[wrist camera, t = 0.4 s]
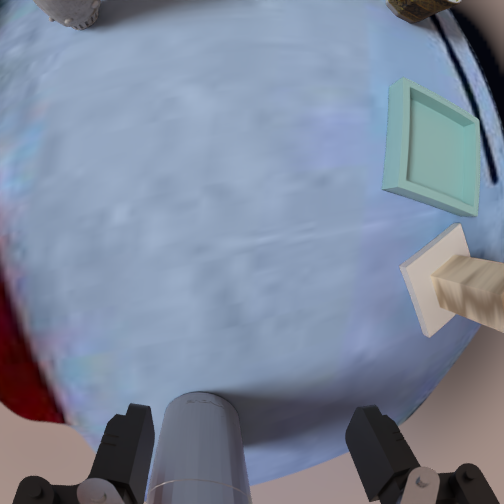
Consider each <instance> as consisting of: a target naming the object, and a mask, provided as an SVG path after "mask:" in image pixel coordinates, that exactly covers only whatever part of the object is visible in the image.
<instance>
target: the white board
mask: <svg viewBox="0 0 504 504" xmlns="http://www.w3.org/2000/svg"><path fill="white" fill-rule="evenodd" d="M453 255H459V256H465V257H470V253H469V249H468V246H467V243H466V239H465V236H464V233H463V230H462V227H461V224H460V223H453V224H452V225H450V226H449V227H448V228H447V229H446V230H444V231H443V232H442V233H441V234H439V235H438V236H437V237H436V238H435V239H433V240H432V241H431V242H429V243H428V244H427V245H426V246H424V247H423V248H422V249H421V250H419V251H418V252H417V253H415V254H414V255H413V256H411V257H410V258H409V259H408V260H406V261H405V262H404V263H402V264H401V265H400V266H399V268H400V270H401V273H402V275H403V278H404V280H405V283H406V286H407V288H408V291H409V294H410V297H411V299H412V302H413V305H414V308H415V311H416V314H417V317H418V320H419V323H420V326H421V329H422V332H423V335H425V336H427V337H429V338H430V337H431V336H432V335H434V334H435V333H436V332H437V331H438V330H439V329H440V328H442V327H443V326H444V325H445V324H446V323H447V322H448V321H449V320H450V319H451V318H453V317H454V316H455V315H456V313H453V312H451V311H448V310H446V309H443V308H440V306H439V302H438V299H437V296H436V292H435V289H434V286H433V283H432V280H431V277H430V275H431V274H432V273H434V272H435V271H436V270H437V269H438V268H439V267H441V266H442V265H443V264H444V263H445V262H446V261H448V260H449V259H450V258H451V257H452V256H453Z"/></svg>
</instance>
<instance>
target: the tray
mask: <svg viewBox="0 0 504 504" xmlns="http://www.w3.org/2000/svg"><path fill="white" fill-rule="evenodd" d="M479 188H480V128H479V120H478V119H477V118H475V117H474V116H472V115H471V114H469V113H468V112H466V111H465V110H463V109H461V108H460V107H458V106H456V105H455V104H453V103H451V102H450V101H448V100H446V99H445V98H443V97H441V96H439V95H437V94H436V93H434V92H432V91H430V90H428V89H426V88H424V87H422V86H421V85H419V84H417V83H415V82H413V81H411V80H408V79H406V78H404V77H402V78H401V79H399V80H398V81H396V82H395V83H394V84H392V85H391V86H389V102H388V124H387V139H386V152H385V162H384V172H383V181H382V190H385V191H388V192H391V193H394V194H397V195H401V196H404V197H407V198H410V199H413V200H416V201H419V202H422V203H425V204H428V205H431V206H433V207H436V208H439V209H442V210H445V211H447V212H450V213H453V214H455V215H458V216H475V217H477V215H478V203H479Z"/></svg>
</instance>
